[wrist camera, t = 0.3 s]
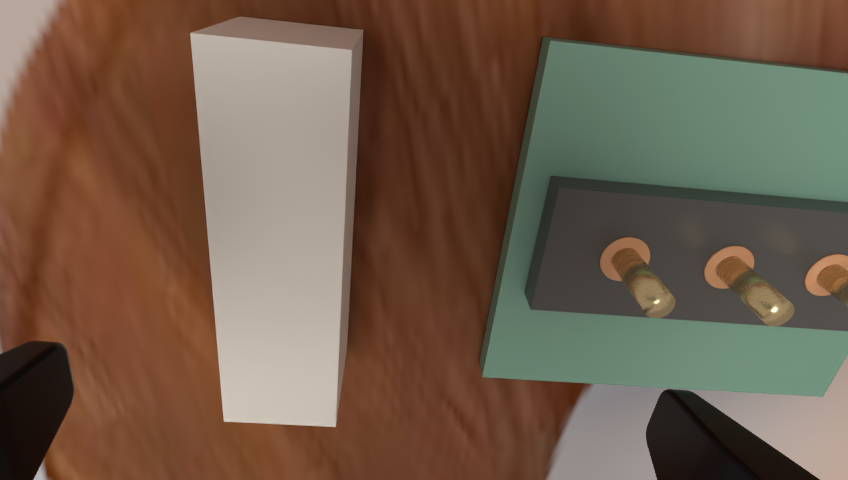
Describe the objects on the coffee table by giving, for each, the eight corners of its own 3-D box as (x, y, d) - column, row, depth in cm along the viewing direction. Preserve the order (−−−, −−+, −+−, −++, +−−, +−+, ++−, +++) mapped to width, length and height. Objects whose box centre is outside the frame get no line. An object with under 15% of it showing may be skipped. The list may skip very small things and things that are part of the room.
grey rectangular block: (363, 29, 18) (352, 50, 14) (347, 346, 24) (335, 427, 20) (239, 16, 17) (190, 32, 13) (254, 341, 23) (223, 421, 19)
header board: (808, 381, 26) (897, 473, 21) (479, 361, 24) (497, 455, 20) (975, 84, 19) (1156, 123, 15) (543, 36, 18) (591, 62, 13)
